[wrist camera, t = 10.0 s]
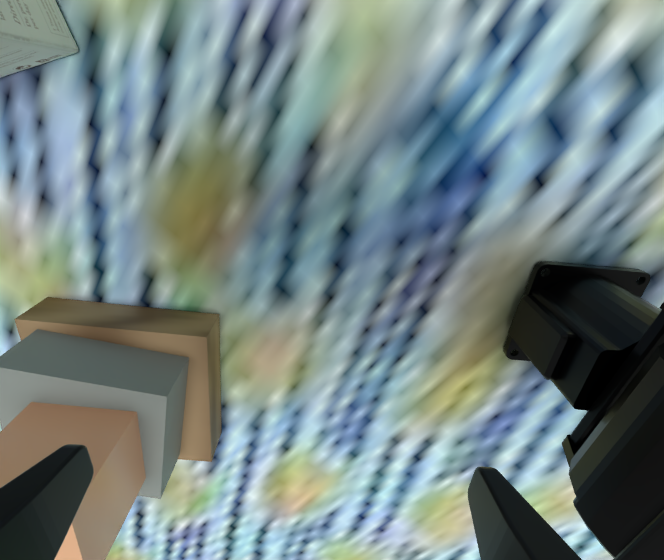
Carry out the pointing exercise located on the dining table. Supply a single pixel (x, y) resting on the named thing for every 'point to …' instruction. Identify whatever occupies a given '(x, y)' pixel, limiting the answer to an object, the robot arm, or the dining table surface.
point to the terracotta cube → (107, 458)
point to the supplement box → (32, 35)
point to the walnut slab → (157, 335)
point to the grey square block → (102, 390)
